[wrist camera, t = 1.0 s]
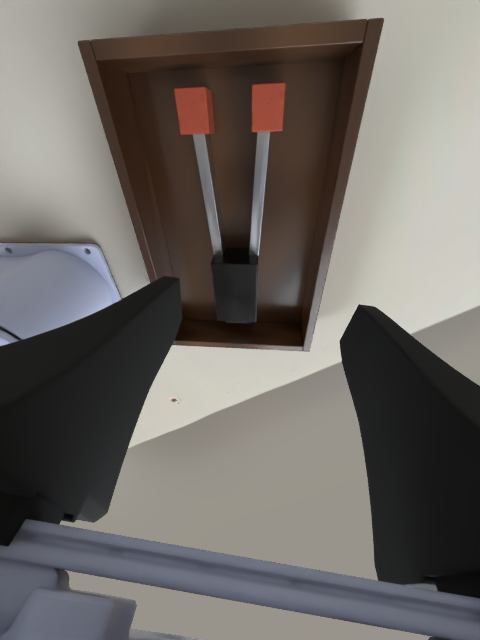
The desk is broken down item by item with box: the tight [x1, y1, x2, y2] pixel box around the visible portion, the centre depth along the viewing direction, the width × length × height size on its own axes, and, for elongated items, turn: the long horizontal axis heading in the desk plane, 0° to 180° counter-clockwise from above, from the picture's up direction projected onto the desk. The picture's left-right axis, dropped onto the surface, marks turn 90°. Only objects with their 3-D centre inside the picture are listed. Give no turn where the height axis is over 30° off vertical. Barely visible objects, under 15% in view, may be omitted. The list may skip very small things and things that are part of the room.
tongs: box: [174, 82, 286, 323], centre depth 16 cm, size 5×15×3 cm, turn 2°
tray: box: [78, 18, 384, 351], centre depth 16 cm, size 12×18×4 cm
